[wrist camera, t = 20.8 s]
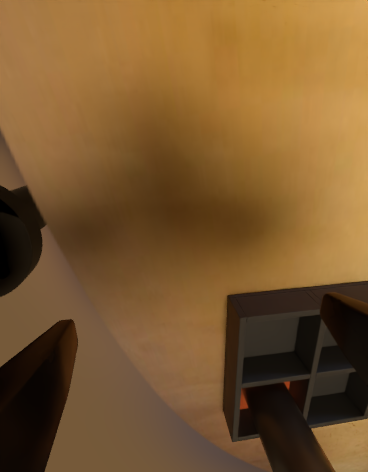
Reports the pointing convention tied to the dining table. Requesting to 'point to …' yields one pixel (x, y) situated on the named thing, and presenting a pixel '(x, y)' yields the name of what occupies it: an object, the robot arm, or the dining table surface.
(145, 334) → the dining table surface
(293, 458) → the pepper grinder
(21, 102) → the dining table surface
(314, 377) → the tray
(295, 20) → the dining table surface
